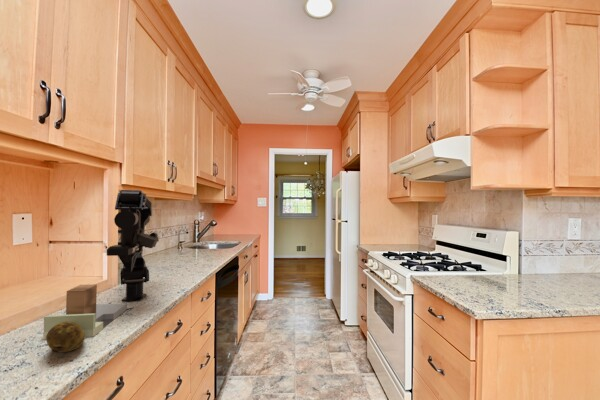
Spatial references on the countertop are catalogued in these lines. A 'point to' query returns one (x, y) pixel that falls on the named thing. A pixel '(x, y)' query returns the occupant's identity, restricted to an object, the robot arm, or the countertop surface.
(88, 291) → the walnut block
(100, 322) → the trap board
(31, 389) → the countertop surface
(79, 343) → the potato
